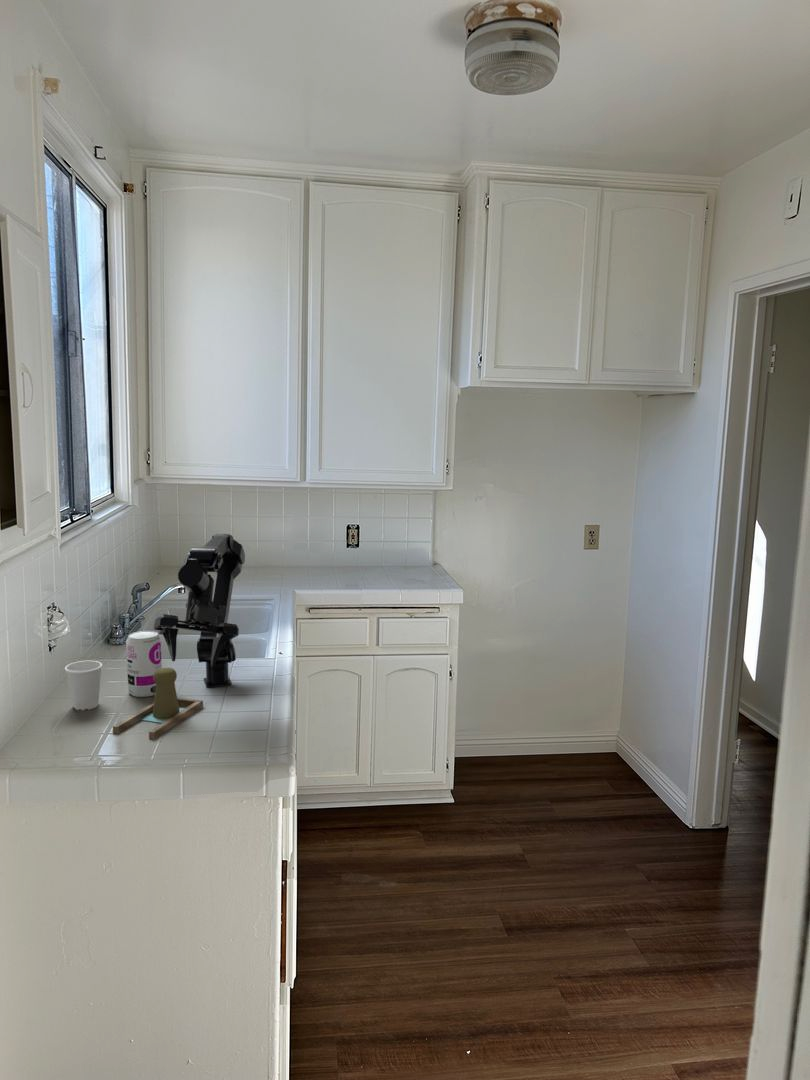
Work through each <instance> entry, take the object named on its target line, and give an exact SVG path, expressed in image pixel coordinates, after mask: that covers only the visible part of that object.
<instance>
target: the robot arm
mask: <svg viewBox="0 0 810 1080" xmlns="http://www.w3.org/2000/svg"><path fill="white" fill-rule="evenodd" d="M245 553H246V552H245V549H244V546H243V545H242V544H241V543H239V542H238V541H237V540H235V539H234V537H233V535H232V534H229V533H228V534H227V533H215V534H212V537H211V539H210V540H209V541H207V543H206V544H204V546H196V547H192V548H191V549H190V551H189V552H187V555H186V557H185V559H184V562H183V563H182V566H181V567H180V568H179V570H178V572H177V578H178V581H179V582H180V584H181V585H182V586H183V587H184V588H185V589H186V590H187V592H188V593H187V601H186V603H185V608H186V612H185V619H184V620H179V616H178V615H173V614H166V613H162V614H161V615H160V616H158V617H157V618H155V620H154V625H153V630H155V631H159V632H158V635H162V636H163V638H164V641H165V644H166V645H167V648H168V651H169V655H170V659H171V662H175V661H176V657H177V642H178V641H177V639H178V638H177V637H178V634H179V629H180V630H181V629H182V630H186V631H194V632H195V631H196V632H200V635H199V639H197V642H196V653H197V660H198V663H205V674H206V675H205V676H206V677H204V678H203V682H204V685H205V687H206V688H215V687H216V686H217V687H223V686H224V687H225V686H232V685H233V682H232V681H231V678H230V676H229V672H230V671H229V664H232V663H233V662H235V661H236V659H237V657H236V656H237V655H236V648H235V645H234V642H233V639H234V638H237V637H239V630H240V629H239V627H238V624H235V623H229V622H228V621H229V613H230V609H231V608H230V606H231V600H232V595H233V586H234V581H235V579H236V578H237V577H238V576H239V575H240V574H241V572H242V568H243V565H244V564H245V561H246V559H245V558H246V554H245ZM208 573H209V574H208ZM210 573H216V580H215V579H214V578H213V577H212V576H211V574H210Z"/></svg>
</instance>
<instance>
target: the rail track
mask: <svg viewBox="0 0 810 1080" xmlns="http://www.w3.org/2000/svg"><path fill="white" fill-rule="evenodd" d="M177 700H178V706H182V707H185V708H182V707H179V711H180V712H179V713H177V714H176V715H174V716H173V717H171V718H170V719H157V718H154V717H153V709H154V701H153V702H152V703H150V704H148V705H147V706H145V707H144V708H142V709H139V710H138V711H137V712H135V713H132V715H129V716H128V717H125V719H123V720H121V721H119V722H118V723H116V724H114V725H113V726H112V733H113V734H119V733H121V732H122V731H124V730H126V729H128V728H129V727H131V726H132V725H134V724H137V722H139V721H143V722H150V723H156V724H159V725H157V726H156V727H154V728H153V729H151V730H149V731H148V739H152V740H155V739H156V738H158V737H159V736H161V735H162V734H164V733H165V732H167V731H168V730H170V729H171V728H173V727H174V726H176V725H177V724H179V723H180V722H182V721H183V720H185V719H186V718H188V717H190V716H191V715H192V714H194V713H196V712H197V711H199V710H200V709H201V708H203V707H204V700H202V699H195V698H194V699H193V698H187V697H178V696H177Z"/></svg>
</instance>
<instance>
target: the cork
mask: <svg viewBox="0 0 810 1080" xmlns="http://www.w3.org/2000/svg"><path fill="white" fill-rule="evenodd" d="M177 675H178V673H177V671H176V670H175V668H171V667H162V668H160V669H158V670H156V671H155V672H154V675H153V679H154V682H155V683H156V689H155V695H154V701H153V702H154V709H153V717H154V718H157V719H170V718H171V717H173V716H174V715H176V714H177V713H179V712H180V711H179V708H180V707H179V706H180V705H178V700H177V697H178V694H177V690H176V684H175V682H176V681H177V678H178V676H177Z"/></svg>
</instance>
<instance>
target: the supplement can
mask: <svg viewBox="0 0 810 1080" xmlns="http://www.w3.org/2000/svg"><path fill="white" fill-rule="evenodd" d="M125 647H126V650H125V651H126V668H127V670H126V671H127V689H128V691H127V692H128V693H129V694H131V695H132V696H133V697H137V698H148V697H152V696H155V689H156V683H155V682H154V679H153V675H154V672H155V671H156V670H158V669H160V668H163V667H162V666H163V663H162V639H161V638H160V635H159V632H157V631H153V630H141V631H135V632H131V633H129V634H128V637H127V639H126V641H125ZM131 695H130V696H131Z"/></svg>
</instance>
